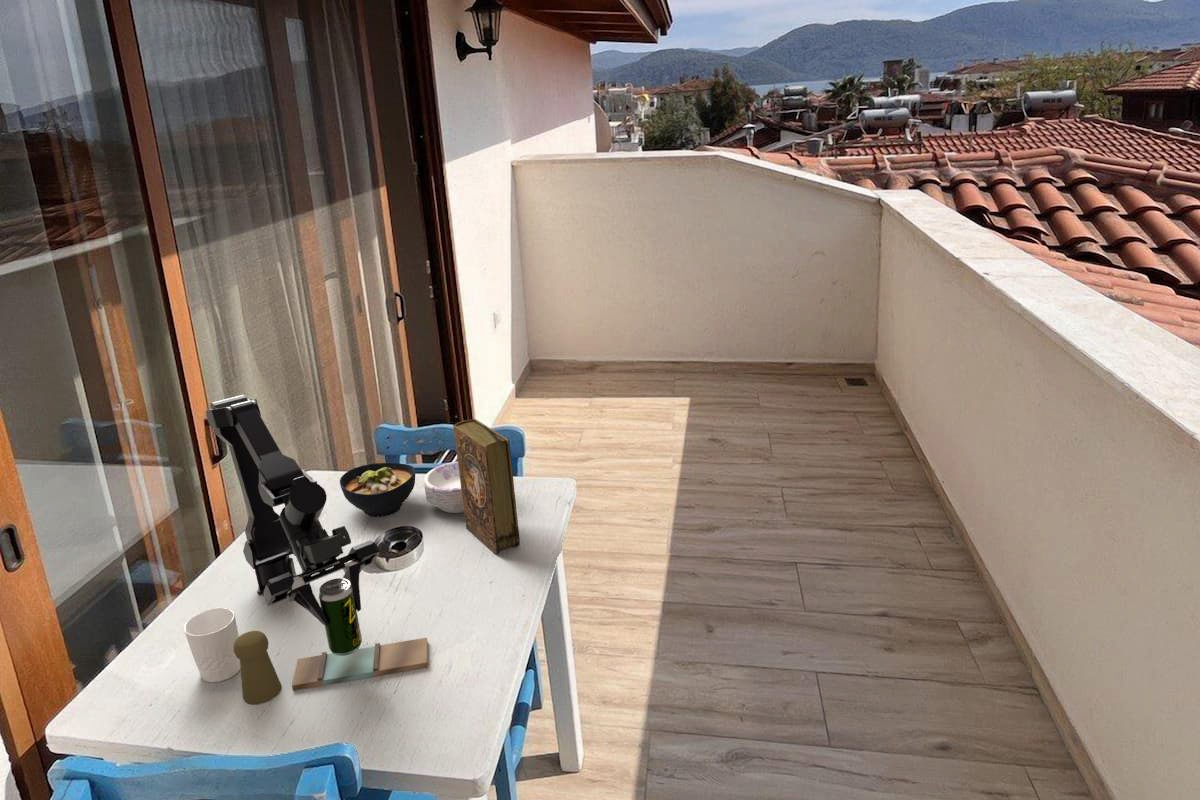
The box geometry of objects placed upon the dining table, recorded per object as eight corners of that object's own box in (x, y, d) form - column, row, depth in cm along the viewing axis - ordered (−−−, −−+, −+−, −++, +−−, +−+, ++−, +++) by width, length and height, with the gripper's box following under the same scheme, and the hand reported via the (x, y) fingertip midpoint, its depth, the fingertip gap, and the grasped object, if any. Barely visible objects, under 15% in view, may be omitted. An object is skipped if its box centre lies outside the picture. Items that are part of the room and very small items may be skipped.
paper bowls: (435, 525, 185) (431, 494, 183) (421, 498, 199) (417, 468, 196) (500, 510, 191) (496, 479, 188) (482, 484, 204) (478, 455, 201)
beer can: (327, 658, 136) (314, 597, 132) (332, 638, 141) (321, 579, 137) (360, 655, 136) (348, 594, 132) (364, 635, 141) (354, 575, 137)
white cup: (215, 691, 136) (202, 641, 133) (187, 676, 140) (173, 627, 137) (256, 663, 142) (244, 615, 139) (228, 650, 146) (216, 602, 143)
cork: (244, 709, 131) (230, 653, 128) (241, 687, 137) (227, 632, 133) (284, 696, 134) (271, 640, 130) (279, 675, 139) (266, 621, 135)
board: (293, 690, 135) (291, 683, 135) (298, 663, 142) (297, 656, 141) (427, 667, 139) (426, 659, 138) (427, 642, 145) (426, 635, 145)
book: (463, 526, 184) (450, 424, 175) (485, 519, 187) (473, 417, 178) (497, 556, 171) (485, 447, 163) (520, 548, 174) (509, 440, 165)
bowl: (410, 525, 186) (404, 486, 183) (336, 528, 187) (328, 489, 183) (426, 491, 202) (421, 454, 199) (357, 494, 203) (351, 457, 199)
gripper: (255, 538, 128) (294, 628, 124) (366, 498, 139) (406, 580, 135) (248, 561, 136) (285, 647, 132) (354, 522, 147) (390, 600, 143)
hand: (343, 617), depth 135 cm, fingers closed on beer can, 5 cm apart
